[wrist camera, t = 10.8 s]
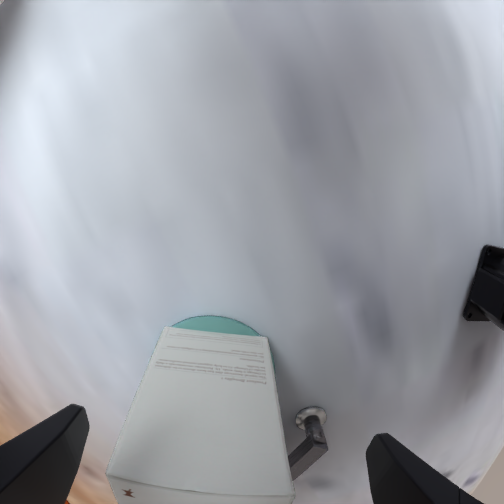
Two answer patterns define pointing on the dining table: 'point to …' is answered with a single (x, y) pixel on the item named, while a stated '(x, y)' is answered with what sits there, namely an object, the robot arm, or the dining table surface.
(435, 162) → the dining table surface
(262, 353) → the supplement box
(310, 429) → the grey cabinet handle
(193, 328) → the teal round disc
